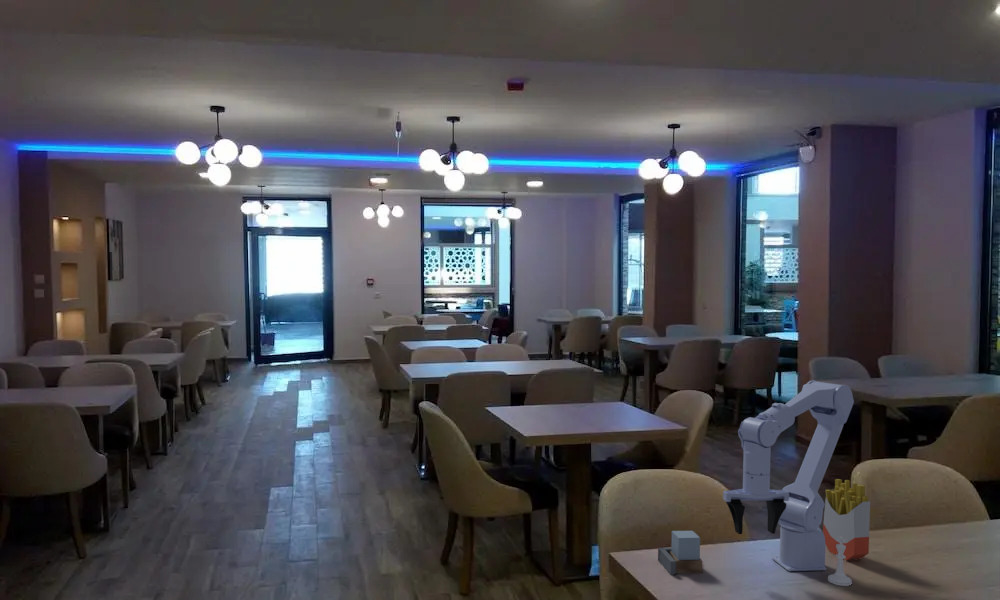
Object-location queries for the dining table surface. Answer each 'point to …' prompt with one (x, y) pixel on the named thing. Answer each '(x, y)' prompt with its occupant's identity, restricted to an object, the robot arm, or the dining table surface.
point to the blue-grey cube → (685, 545)
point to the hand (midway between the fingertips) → (755, 532)
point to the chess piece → (840, 567)
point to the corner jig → (667, 560)
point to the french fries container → (847, 519)
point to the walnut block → (687, 565)
